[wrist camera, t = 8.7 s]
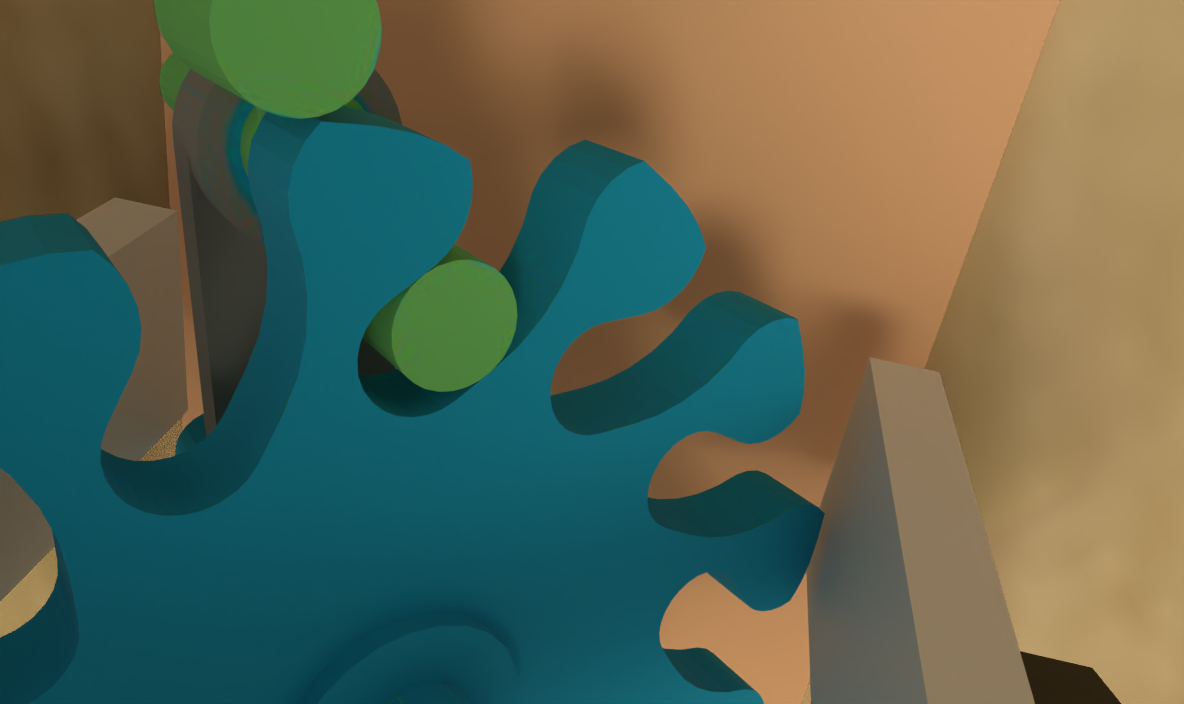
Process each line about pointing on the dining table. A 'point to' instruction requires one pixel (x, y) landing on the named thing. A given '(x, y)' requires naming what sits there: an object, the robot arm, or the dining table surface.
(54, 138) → the dining table surface
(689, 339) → the gear
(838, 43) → the pad
